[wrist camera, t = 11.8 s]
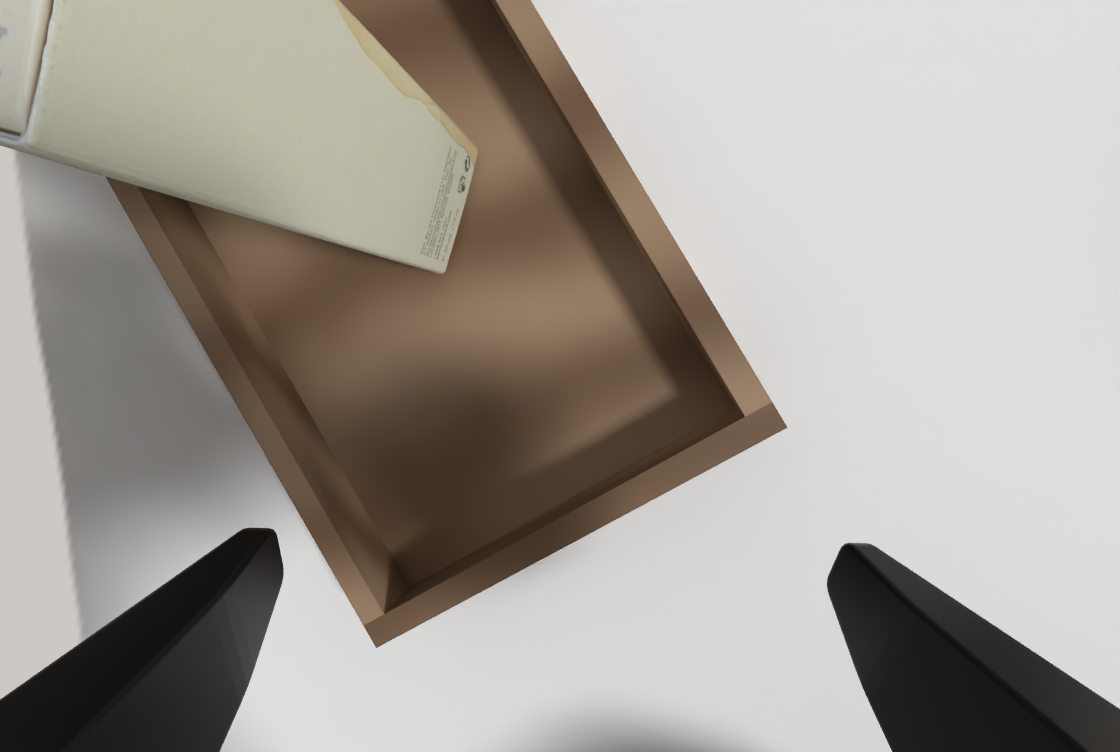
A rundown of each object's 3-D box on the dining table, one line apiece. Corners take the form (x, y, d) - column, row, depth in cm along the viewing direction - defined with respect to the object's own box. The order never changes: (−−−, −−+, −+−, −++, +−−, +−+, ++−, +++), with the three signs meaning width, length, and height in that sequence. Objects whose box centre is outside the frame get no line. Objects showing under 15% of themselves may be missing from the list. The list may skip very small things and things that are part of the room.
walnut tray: (766, 415, 17) (787, 427, 15) (410, 608, 19) (376, 647, 17) (447, -116, 18) (415, -192, 15) (135, 133, 20) (63, 103, 17)
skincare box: (483, 148, 17) (123, -291, 5) (445, 283, 18) (36, 160, 6) (308, 100, 18) (-350, -378, 6) (277, 230, 19) (-395, 24, 7)
